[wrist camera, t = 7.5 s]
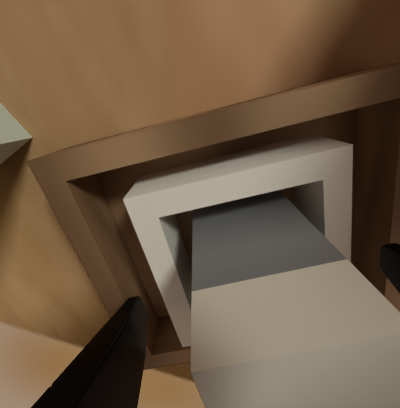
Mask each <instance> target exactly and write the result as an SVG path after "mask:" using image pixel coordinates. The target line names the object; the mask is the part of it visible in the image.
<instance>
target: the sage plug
mask: <svg viewBox="0 0 400 408" xmlns="http://www.w3.org/2000/svg"><path fill="white" fill-rule="evenodd" d="M31 138H32V136H31V135H30V134H29V133H28V132H27V131H26V130H25V129H24V128H23V127H22V126H21V125H20V124H19V122H18V121H17V120H16V119H15V118H14V117H13V116H12V115H11V114H10V113H9V112H8V111H7V110H6V108H5V107H4V106H3V105H2V104H1V103H0V164H1V163H3V162H4V161H5V160H6V159H7V158H9V157H10V156H11V155H12V154H13V153H15V152H16V151H17V150H18V149H19V148H21V147H22V146H23V145H24V144H25V143H27V142H28V141H29V140H30V139H31Z"/></svg>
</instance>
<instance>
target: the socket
mask: <svg viewBox="0 0 400 408" xmlns="http://www.w3.org/2000/svg"><path fill="white" fill-rule="evenodd" d="M352 171H353V144H349V143H345V142H341V141H337V140H333V139H329V138H325V137H321V136H317V135H313V134H309V135H304V136H300V137H296V138H292V139H288V140H284V141H280V142H276V143H272V144H268V145H264V146H260V147H256V148H251V149H247V150H243V151H239V152H235V153H231V154H227V155H223V156H219V157H215V158H211V159H207V160H203V161H199V162H194V163H190V164H186V165H182V166H178V167H174V168H170V169H166V170H162V171H158V172H154V173H150V174H146V175H142V176H140V177H139V179H138V180H137V181H136V183H135V184H134V185H133V187H132V188H131V189H130V191H129V192H128V193H127V194H126V196H125V197H124V198H123V201H124V204H125V206H126V209H127V211H128V214H129V216H130V219H131V221H132V224H133V226H134V229H135V231H136V233H137V236H138V238H139V241H140V243H141V246H142V248H143V251H144V253H145V256H146V258H147V261H148V263H149V266H150V268H151V271H152V273H153V276H154V278H155V281H156V283H157V285H158V288H159V290H160V293H161V295H162V298H163V300H164V303H165V305H166V308H167V310H168V313H169V315H170V318H171V320H172V323H173V325H174V328H175V330H176V332H177V335H178V337H179V340H180V342H181V345H182V347H187V346H191V302H192V267H191V264H190V261H189V258H188V254H187V251H186V248H185V245H184V242H183V239H182V235H181V232H180V229H179V226H178V223H177V220H176V217H175V214H177V213H181V212H186V211H190V210H194V209H199V208H203V207H207V206H212V205H216V204H220V203H225V202H229V201H233V200H238V199H242V198H246V197H251V196H255V195H259V194H264V193H268V192H272V191H277V190H281V189H285V188H290V187H293V194H294V205H295V207H296V208H297V209H298V210H299V211H300V212H301V213H302V214H303V215H304V216H305V217H306V218H307V219H308V220H309V221H310V222H311V223H312V224H313V225H314V226H315V227H316V228H317V229H318V230H319V231H320V232H321V233H322V234H323V235H324V236H325V237H326V238H327V239H328V240H329V241H330V242H331V243H332V244H333V245H334V246H335V247H336V248H337V249H338V250H339V251H340V252H341V253H342V254H343V255H344V256H345V257H346V258H347V259H348V260H349V261H350V262H351V226H352Z"/></svg>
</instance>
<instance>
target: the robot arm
mask: <svg viewBox="0 0 400 408" xmlns="http://www.w3.org/2000/svg"><path fill="white" fill-rule="evenodd" d="M379 265H380V268H381V270H382V272H383V273H384V274H385V275H386V277H387V278H388V279H389V281H390V282H391V283H392V285H393V286H394V287H395V289H396V290H397V291H398V293H399V294H400V244H397V243H390V244H385V245H382V246H381V248H380V258H379ZM147 321H148V313H147V310H146V307H145V305H144V303H143V301H142V299H141V297H140V296H134V297H130V298H128V299H127V300H126V301H125V302H124V303H123V305H122V306H121V307H120V308H119V309H118V310H117V311H116V313H115V314H114V315H113V316H112V317H111V318H110V319H109V320H108V322H107V323H106V324H105V325H104V326H103V327H102V328H101V329H100V331H99V332H98V333H97V334H96V335H95V336H94V337H93V338H92V340H91V341H90V342H89V343H88V344H87V345H86V346H85V348H84V349H83V350H82V351H81V352H80V353H79V354H78V355H77V357H76V358H75V359H74V360H73V361H72V362H71V363H70V365H69V366H68V367H67V368H66V369H65V370H64V371H63V372H62V374H61V375H60V376H59V377H58V378H57V379H56V380H55V381H54V382H53V384H52V387H49V388H48V389H47V390H46V391H45V393H44V394H43V395H42V396H41V397H40V398H39V399H38V400H37V402H36V403H35V404H34V405H33V406H32V407H31V408H137V405H138V399H139V393H140V387H141V381H142V374H143V369H144V362H145V353H146V337H147Z"/></svg>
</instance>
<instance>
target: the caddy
mask: <svg viewBox="0 0 400 408" xmlns="http://www.w3.org/2000/svg"><path fill="white" fill-rule="evenodd" d="M309 134H313V135H317V136H321V137H325V138H329V139H333V140H337V141H341V142H345V143H349V144H353V171H352V226H351V263H352V264H353V266H354V267H355V268H356V269H357V270H358V271H359V272H360V273H361V274H362V275H363V276H364V277H365V278H366V279H367V280H368V281H369V282H370V283H371V284H372V285H373V286H374V287H375V288H376V289H377V290H378V291H379V292H380V293H381V294H382V295H383V296H384V297H385V298H386V299H387V300H388V301H389V302H390V303H391V304H392V305H393V306H394V307H395V308H396V309H397V310H398V311H399V312H400V294H399V293H398V291H397V290H396V289H395V287H394V286H393V285H392V283H391V282H390V281H389V279H388V278H387V277H386V275H385V274H384V273H383V272H382V270H381V268H380V265H379V258H380V248H381V246H382V245H385V244H390V243H397V244H400V62H399V63H394V64H390V65H385V66H380V67H375V68H371V69H367V70H363V71H359V72H355V73H351V74H348V75H344V76H340V77H336V78H332V79H328V80H325V81H321V82H317V83H313V84H309V85H305V86H302V87H298V88H294V89H290V90H286V91H282V92H279V93H275V94H271V95H267V96H263V97H259V98H256V99H252V100H248V101H244V102H240V103H236V104H233V105H229V106H225V107H221V108H217V109H213V110H210V111H206V112H202V113H198V114H194V115H190V116H187V117H183V118H179V119H175V120H171V121H167V122H164V123H160V124H156V125H152V126H148V127H144V128H141V129H137V130H133V131H129V132H125V133H121V134H118V135H114V136H110V137H106V138H102V139H98V140H95V141H91V142H87V143H83V144H79V145H75V146H72V147H68V148H65V149H62V150H59V151H56V152H53V153H50V154H47V155H44V156H41V157H38V158H36V159H33V160H30V161H27V163H28V165H29V167H30V169H31V170H32V172H33V174H34V176H35V178H36V180H37V181H38V183H39V185H40V187H41V189H42V191H43V192H44V194H45V196H46V198H47V200H48V202H49V204H50V205H51V207H52V209H53V211H54V213H55V215H56V216H57V218H58V220H59V222H60V224H61V226H62V227H63V229H64V231H65V233H66V235H67V237H68V239H69V240H70V242H71V244H72V246H73V248H74V250H75V251H76V253H77V255H78V257H79V259H80V261H81V262H82V264H83V266H84V268H85V270H86V272H87V274H88V275H89V277H90V279H91V281H92V283H93V285H94V286H95V288H96V290H97V292H98V294H99V296H100V297H101V299H102V301H103V303H104V305H105V307H106V309H107V310H108V312H109V314H110V316H111V317H112V316H113V315H114V314H115V313H116V311H117V310H118V309H119V308H120V307H121V306H122V305H123V303H124V302H125V301H126V300H127V299H128V298H130V297H134V296H140V297H141V299H142V301H143V303H144V305H145V307H146V310H147V313H148V321H147V337H146V353H145V362H144V369H143V370H145V369H151V368H156V367H162V366H167V365H173V364H178V363H184V362H189V361H191V346H187V347H182V345H181V342H180V340H179V337H178V335H177V332H176V330H175V328H174V325H173V323H172V320H171V318H170V315H169V313H168V310H167V308H166V305H165V303H164V300H163V298H162V295H161V293H160V290H159V288H158V285H157V283H156V281H155V278H154V276H153V273H152V271H151V268H150V266H149V263H148V261H147V258H146V256H145V253H144V251H143V248H142V246H141V243H140V241H139V238H138V236H137V233H136V231H135V229H134V226H133V224H132V221H131V219H130V216H129V214H128V211H127V209H126V206H125V204H124V201H123V198H124V197H125V196H126V194H127V193H128V192H129V191H130V189H131V188H132V187H133V185H134V184H135V183H136V181H137V180H138V179H139V177H140V176H142V175H146V174H150V173H154V172H158V171H162V170H166V169H170V168H174V167H178V166H182V165H186V164H190V163H194V162H199V161H203V160H207V159H211V158H215V157H219V156H223V155H227V154H231V153H235V152H239V151H243V150H247V149H251V148H256V147H260V146H264V145H268V144H272V143H276V142H280V141H284V140H288V139H292V138H296V137H300V136H304V135H309ZM279 191H280V192H281V193H282V194H283V195H284V196H285V197H286V198H287V199H288V200H289V201H290V202H291V203H292V204H293V205H294V194H293V187H290V188H285V189H281V190H279ZM294 206H295V205H294ZM175 217H176V220H177V223H178V226H179V229H180V232H181V235H182V239H183V242H184V245H185V248H186V251H187V254H188V258H189V261H190V264H191V267H192V231H193V210H190V211H186V212H181V213H177V214H175Z"/></svg>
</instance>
